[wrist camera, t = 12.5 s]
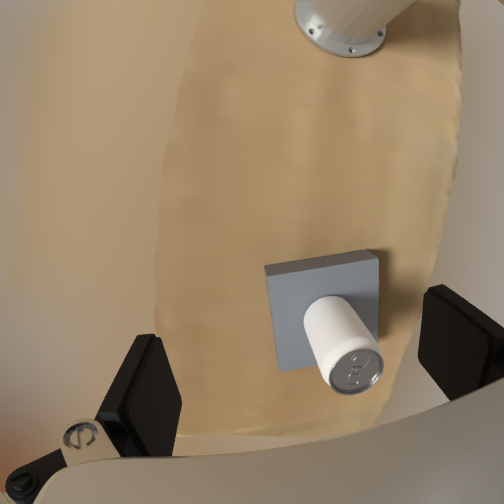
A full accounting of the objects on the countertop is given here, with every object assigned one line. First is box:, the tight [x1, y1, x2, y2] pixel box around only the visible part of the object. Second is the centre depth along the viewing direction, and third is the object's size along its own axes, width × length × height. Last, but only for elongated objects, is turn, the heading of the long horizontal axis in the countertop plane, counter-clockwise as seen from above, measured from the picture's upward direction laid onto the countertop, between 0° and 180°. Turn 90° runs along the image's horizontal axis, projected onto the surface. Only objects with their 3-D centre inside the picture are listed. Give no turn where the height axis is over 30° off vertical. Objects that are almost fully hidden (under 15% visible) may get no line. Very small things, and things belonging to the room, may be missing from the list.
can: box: [304, 296, 384, 395], centre depth 34 cm, size 6×6×12 cm
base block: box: [264, 249, 379, 372], centre depth 41 cm, size 14×14×4 cm
